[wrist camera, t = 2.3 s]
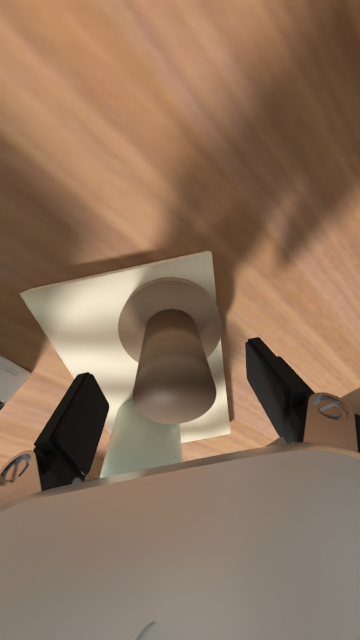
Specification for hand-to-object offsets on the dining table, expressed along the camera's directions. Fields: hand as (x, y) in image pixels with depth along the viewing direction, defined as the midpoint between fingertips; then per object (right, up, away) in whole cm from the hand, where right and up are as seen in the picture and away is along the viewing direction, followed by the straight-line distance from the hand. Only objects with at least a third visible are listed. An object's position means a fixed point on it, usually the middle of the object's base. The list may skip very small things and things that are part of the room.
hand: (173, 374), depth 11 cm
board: (-2, -2, +8) cm, 9 cm away
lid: (0, +3, +4) cm, 5 cm away
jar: (-3, -8, +9) cm, 12 cm away
